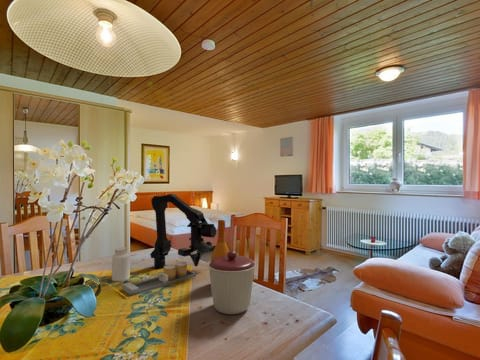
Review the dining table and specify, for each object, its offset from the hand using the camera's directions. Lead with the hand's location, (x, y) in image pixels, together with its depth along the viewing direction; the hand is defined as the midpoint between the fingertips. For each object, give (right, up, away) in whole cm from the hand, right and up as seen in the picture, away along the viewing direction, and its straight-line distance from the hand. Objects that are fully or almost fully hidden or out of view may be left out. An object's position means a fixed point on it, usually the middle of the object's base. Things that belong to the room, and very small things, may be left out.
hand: (196, 266), depth 135 cm
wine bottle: (+14, -4, -17) cm, 23 cm away
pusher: (-16, -2, -17) cm, 24 cm away
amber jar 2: (-6, -3, -7) cm, 10 cm away
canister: (+20, -3, -38) cm, 42 cm away
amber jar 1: (-11, -3, -11) cm, 16 cm away
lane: (-13, -3, -14) cm, 20 cm away
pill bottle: (-35, -4, -9) cm, 36 cm away
